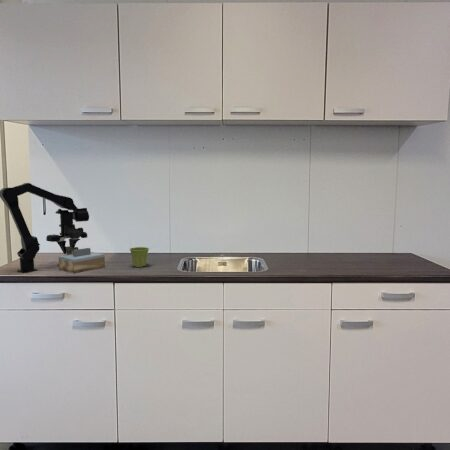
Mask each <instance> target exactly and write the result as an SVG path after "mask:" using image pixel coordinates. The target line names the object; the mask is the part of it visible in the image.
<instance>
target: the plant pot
mask: <svg viewBox="0 0 450 450" xmlns="http://www.w3.org/2000/svg"><path fill="white" fill-rule="evenodd" d="M149 250H150V247H145V246H138V247H137V246H136V247H131V248H129V252H130V254H131V259H132V266H133V267H136V268H143V267H146V266H147V261H148V260H147V259H148V253H149Z"/></svg>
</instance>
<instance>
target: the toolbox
mask: <svg viewBox="0 0 450 450" xmlns="http://www.w3.org/2000/svg"><path fill="white" fill-rule="evenodd" d="M77 249H79V247H78V246H76V247H73V248H67V253H66V254H65V255H71V250H77ZM58 267H59V268H58V269H59V270H61V271H64V272H69V273H73V274H78V273H82V272H87V271H91V270H97V269H101V268H106V256H105V257H101V258H95V259H90V260H84V261H79V262H71V261H66V260H62V259H59V258H58Z"/></svg>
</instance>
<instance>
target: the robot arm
mask: <svg viewBox="0 0 450 450" xmlns="http://www.w3.org/2000/svg"><path fill="white" fill-rule="evenodd" d="M26 193H29V194H32V195H35V196H37V197H39V198H41V199H45V200H47V201H50V202H51V203H53V204H54V205H56V206H57V207H59V208H58V209H57V210H56V211H55V212H54V213H55V214H58V215H59V217H60V218H59V219H60V224H58V226H59V228H60V232H59V234H54V233H53V234H48V235H47V236H46V239H45V240H46V242H51V243H56V244H57V245H58V246H59V248H60V249H61V251H62V253H63V254H64V255H66V254H67V253H66V247H67V246H66V243H67V240H66V239H68V242H69V244H68V246H71V247H72V248H73V247H75V246H76V244H77V242H79V241H81V239H86V238H87V239H88V233H87V232H86V231H84V228H83V227H78V228H76V225H75V223H74V221H75V222H76V223H77V222H79V223H80V222H81V223H82V222H88V221H89V220H90V214H89V211H88V208H87V207H82V208H81V207H80V208H78V207H77V206H76V204H75V202H74V200H73V198H71V197H69V196H66V195H59V194H56V193H53V192H51V191H48V190H46V189H43V188H42V187H39V186H36V185H34V184H32V183H30V182H24V183H22V184H19V185H16V186H13V187H3V188H1V189H0V199H1V201H2V202H3V203H4V205H5V206H6V207H7V209H8V210H9V213H10V215H11V217H12V219H13V222H14V225H15V228H16V229H17V232H18V234H19V236H20V243H21V248H20V250H18V252H16V253H17V256H18V257H19V266H20V267H19V269H17V270H16V271H17V272H20V273H23V274H24V273H30V272H34V271H38V268H35V258H36V255H37V254H38V252H39V251H40V246H41V244H40V243H39V241H38V240H39V239H38V236H34V235H32V234H31V232H30V230H29V227H28V225H27V223H26V219H25V218H24V215H23V213H22V211H21V207H20V203H19V197H18V196H21V195H23V194H26Z"/></svg>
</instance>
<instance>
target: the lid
mask: <svg viewBox="0 0 450 450" xmlns="http://www.w3.org/2000/svg"><path fill="white" fill-rule="evenodd" d="M101 257H105V258H106V256H105V253H98V252H94V251H91V247H85V248H84V247H83V248H78V249H77V250H73V254H71V255H66V254H64V255H59V256H58V260H59V259H62V260H66V261H71V262H79V261H84V260H90V259H95V258H101Z"/></svg>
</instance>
